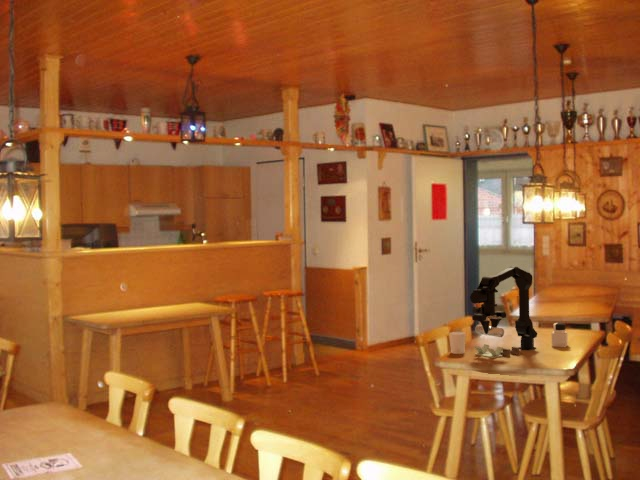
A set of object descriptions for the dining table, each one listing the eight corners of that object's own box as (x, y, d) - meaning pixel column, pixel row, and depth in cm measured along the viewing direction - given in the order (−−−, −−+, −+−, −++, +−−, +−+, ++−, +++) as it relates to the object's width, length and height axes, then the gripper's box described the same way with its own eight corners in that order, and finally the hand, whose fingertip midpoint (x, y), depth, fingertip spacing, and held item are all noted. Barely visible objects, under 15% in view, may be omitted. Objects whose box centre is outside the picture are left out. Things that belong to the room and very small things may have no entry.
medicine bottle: (567, 345, 399) (567, 322, 399) (565, 347, 393) (565, 324, 393) (553, 344, 402) (553, 321, 402) (551, 346, 396) (551, 323, 396)
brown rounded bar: (475, 333, 382) (475, 324, 382) (481, 333, 384) (481, 324, 384) (497, 337, 370) (498, 328, 370) (504, 337, 372) (504, 327, 372)
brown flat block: (506, 352, 385) (505, 345, 385) (519, 354, 378) (519, 347, 378) (494, 354, 380) (494, 347, 380) (508, 356, 373) (507, 349, 373)
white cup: (465, 354, 382) (465, 334, 382) (449, 354, 384) (449, 334, 383) (465, 351, 390) (465, 332, 389) (450, 351, 391) (449, 331, 391)
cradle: (485, 352, 385) (485, 344, 385) (503, 356, 375) (503, 347, 375) (474, 354, 381) (474, 346, 381) (492, 358, 371) (492, 349, 371)
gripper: (489, 299, 388) (490, 329, 389) (463, 302, 378) (464, 333, 378) (506, 300, 379) (507, 331, 380) (480, 304, 369) (481, 336, 369)
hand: (489, 333), depth 377 cm, fingers closed on brown rounded bar, 4 cm apart
